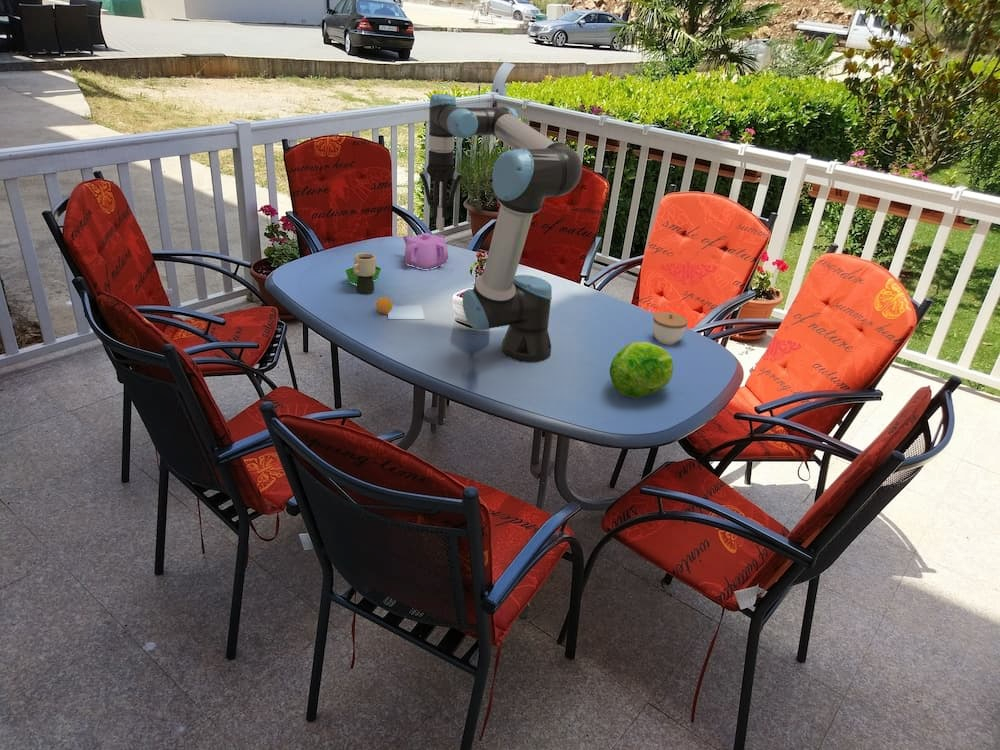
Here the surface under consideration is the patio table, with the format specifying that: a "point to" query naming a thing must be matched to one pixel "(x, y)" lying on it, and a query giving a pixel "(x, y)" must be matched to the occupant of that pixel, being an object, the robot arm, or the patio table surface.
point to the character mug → (364, 271)
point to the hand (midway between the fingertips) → (438, 227)
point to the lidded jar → (668, 327)
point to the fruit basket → (353, 277)
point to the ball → (384, 305)
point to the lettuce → (641, 369)
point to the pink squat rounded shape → (425, 250)
